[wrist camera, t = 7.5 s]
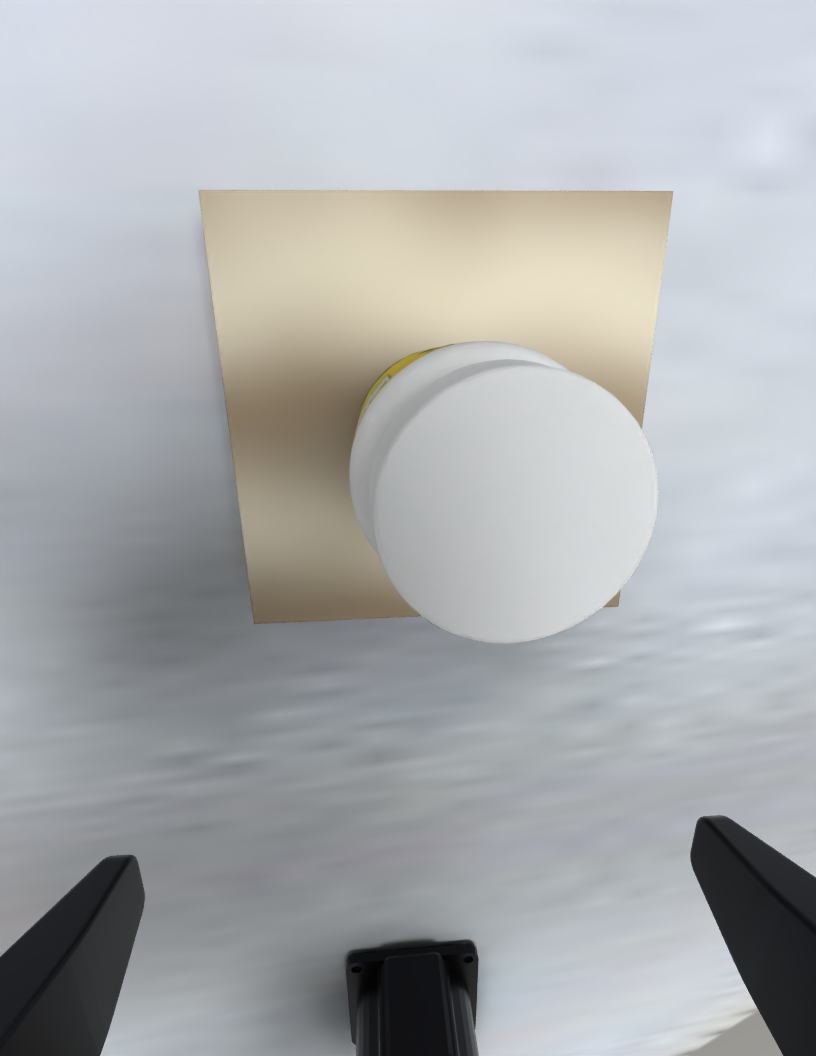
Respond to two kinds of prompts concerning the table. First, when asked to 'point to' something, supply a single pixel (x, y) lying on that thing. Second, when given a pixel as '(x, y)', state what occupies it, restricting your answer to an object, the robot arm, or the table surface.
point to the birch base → (398, 342)
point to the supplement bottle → (501, 490)
